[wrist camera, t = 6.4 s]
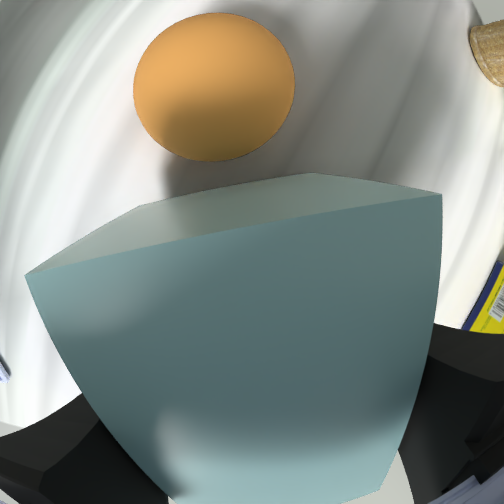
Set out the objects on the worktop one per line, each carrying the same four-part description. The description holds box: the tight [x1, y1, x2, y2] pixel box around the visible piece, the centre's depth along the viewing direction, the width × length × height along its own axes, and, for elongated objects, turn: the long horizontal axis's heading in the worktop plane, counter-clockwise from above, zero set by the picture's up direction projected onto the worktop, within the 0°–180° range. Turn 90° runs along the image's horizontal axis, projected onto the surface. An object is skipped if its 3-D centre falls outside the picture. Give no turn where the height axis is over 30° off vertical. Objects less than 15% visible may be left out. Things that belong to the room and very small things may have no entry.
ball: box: [133, 13, 295, 162], centre depth 8 cm, size 5×5×5 cm
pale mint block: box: [24, 173, 442, 504], centre depth 8 cm, size 6×10×7 cm, turn 10°
